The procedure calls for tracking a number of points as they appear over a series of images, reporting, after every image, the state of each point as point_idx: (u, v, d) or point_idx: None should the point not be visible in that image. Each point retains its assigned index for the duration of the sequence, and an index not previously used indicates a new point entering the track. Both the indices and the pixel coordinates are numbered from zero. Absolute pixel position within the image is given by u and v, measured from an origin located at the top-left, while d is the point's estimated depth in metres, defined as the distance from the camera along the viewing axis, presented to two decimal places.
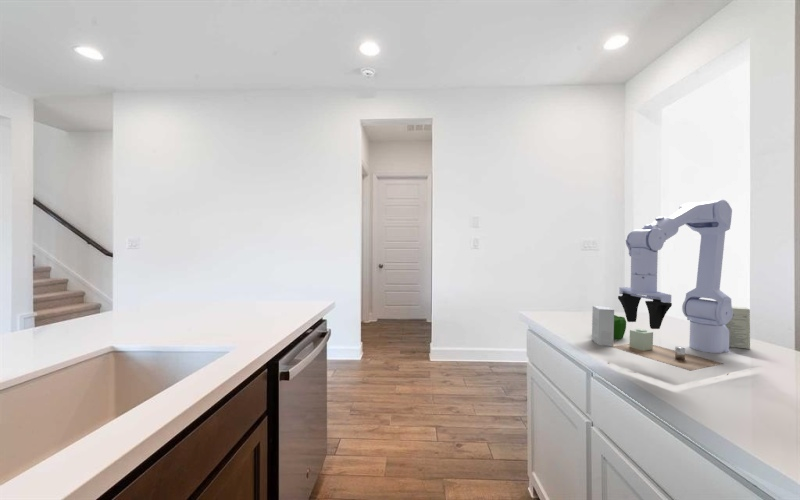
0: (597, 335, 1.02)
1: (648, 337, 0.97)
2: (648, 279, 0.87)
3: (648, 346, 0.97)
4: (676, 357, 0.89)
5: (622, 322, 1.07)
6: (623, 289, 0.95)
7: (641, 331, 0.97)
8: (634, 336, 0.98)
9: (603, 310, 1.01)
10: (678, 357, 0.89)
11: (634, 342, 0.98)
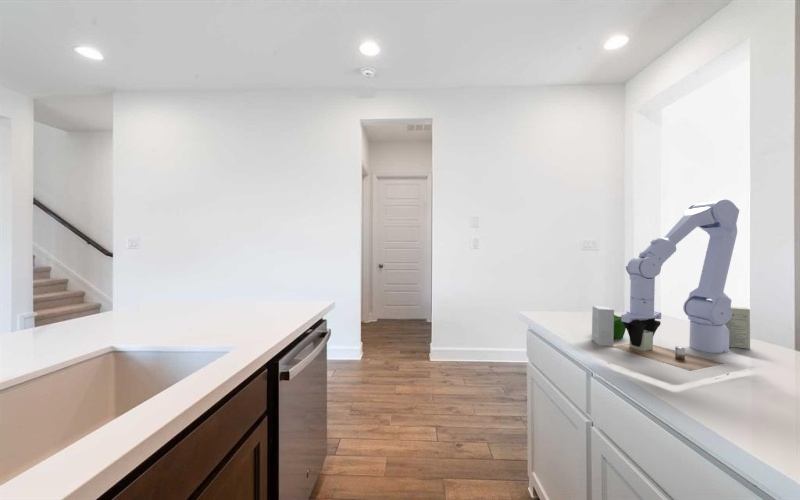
0: (597, 335, 1.02)
1: (648, 337, 0.97)
2: (632, 302, 0.98)
3: (648, 346, 0.97)
4: (676, 357, 0.89)
5: (622, 322, 1.07)
6: None
7: None
8: None
9: (603, 310, 1.01)
10: (678, 357, 0.89)
11: None
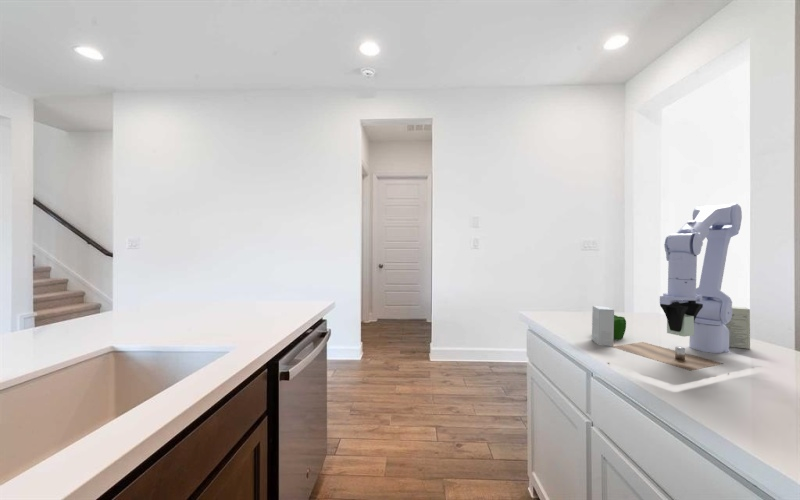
0: (597, 335, 1.02)
1: (689, 321, 0.87)
2: (671, 282, 0.89)
3: (689, 331, 0.87)
4: (676, 357, 0.89)
5: (622, 322, 1.07)
6: None
7: None
8: None
9: (603, 310, 1.01)
10: (678, 357, 0.89)
11: None
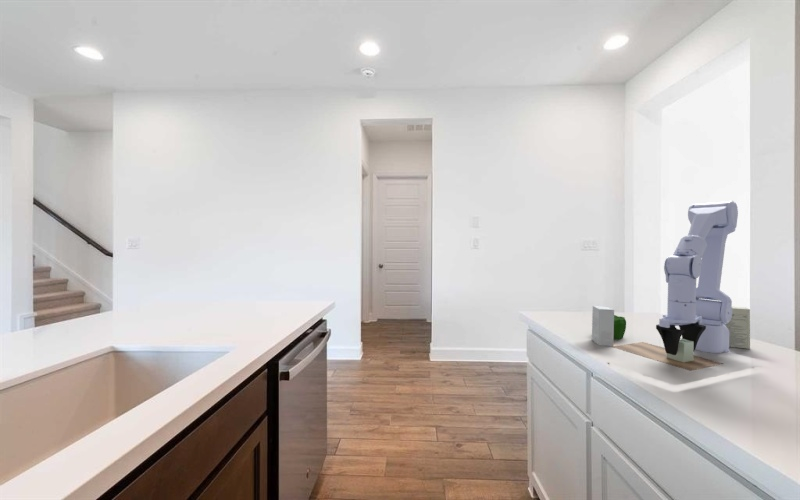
0: (597, 335, 1.02)
1: (688, 347, 0.87)
2: (671, 305, 0.89)
3: (688, 357, 0.87)
4: None
5: (622, 322, 1.07)
6: None
7: (680, 340, 0.88)
8: None
9: (603, 310, 1.01)
10: None
11: None
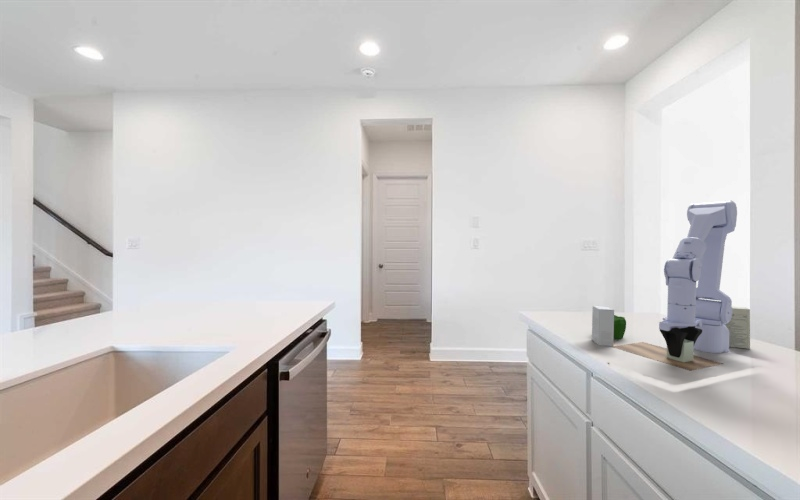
0: (597, 335, 1.02)
1: (688, 347, 0.87)
2: (671, 308, 0.89)
3: (688, 357, 0.87)
4: None
5: (622, 322, 1.07)
6: None
7: None
8: None
9: (603, 310, 1.01)
10: None
11: None
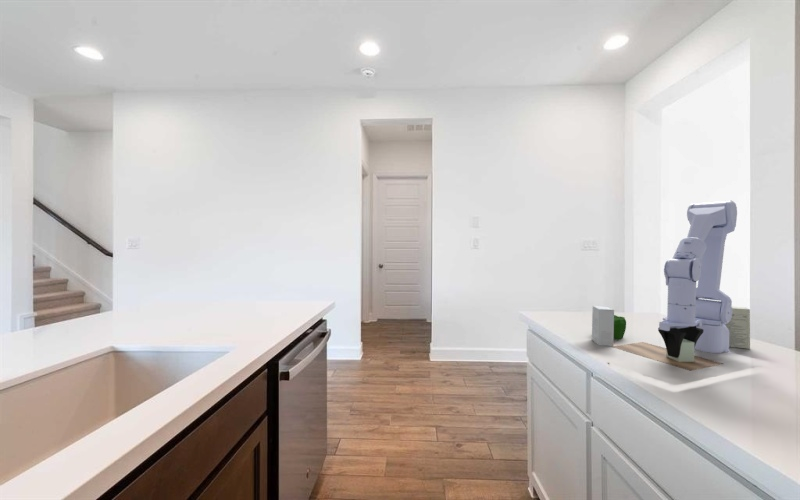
0: (597, 335, 1.02)
1: None
2: (671, 308, 0.89)
3: None
4: None
5: (622, 322, 1.07)
6: None
7: (686, 340, 0.88)
8: (684, 348, 0.87)
9: (603, 310, 1.01)
10: None
11: (684, 355, 0.87)
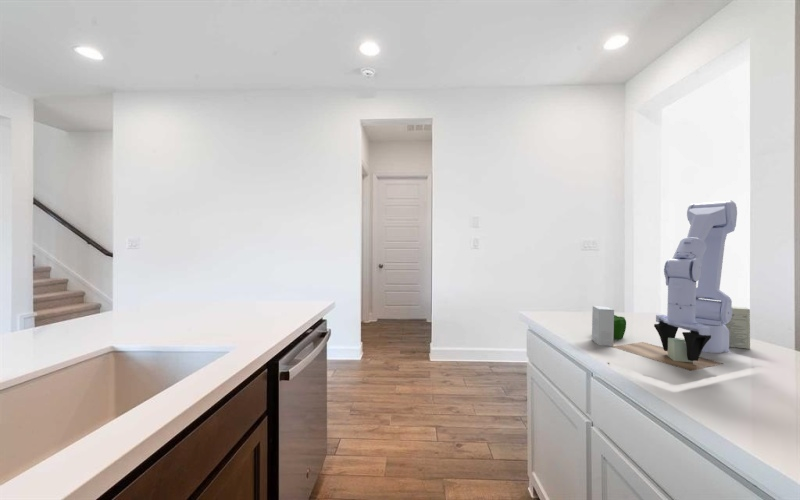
0: (597, 335, 1.02)
1: None
2: (686, 310, 0.86)
3: None
4: None
5: (622, 322, 1.07)
6: (660, 317, 0.94)
7: (684, 339, 0.89)
8: None
9: (603, 310, 1.01)
10: None
11: None
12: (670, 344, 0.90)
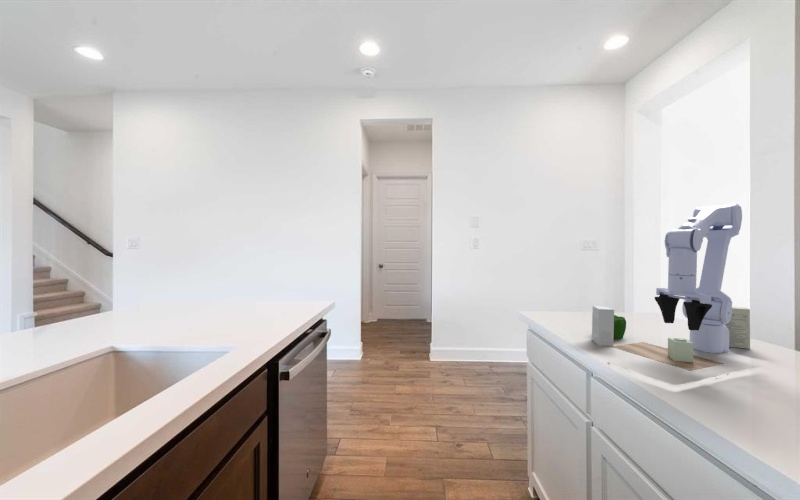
0: (597, 335, 1.02)
1: None
2: (687, 279, 0.86)
3: None
4: None
5: (622, 322, 1.07)
6: (660, 290, 0.94)
7: (684, 339, 0.89)
8: None
9: (603, 310, 1.01)
10: None
11: None
12: (670, 344, 0.90)
